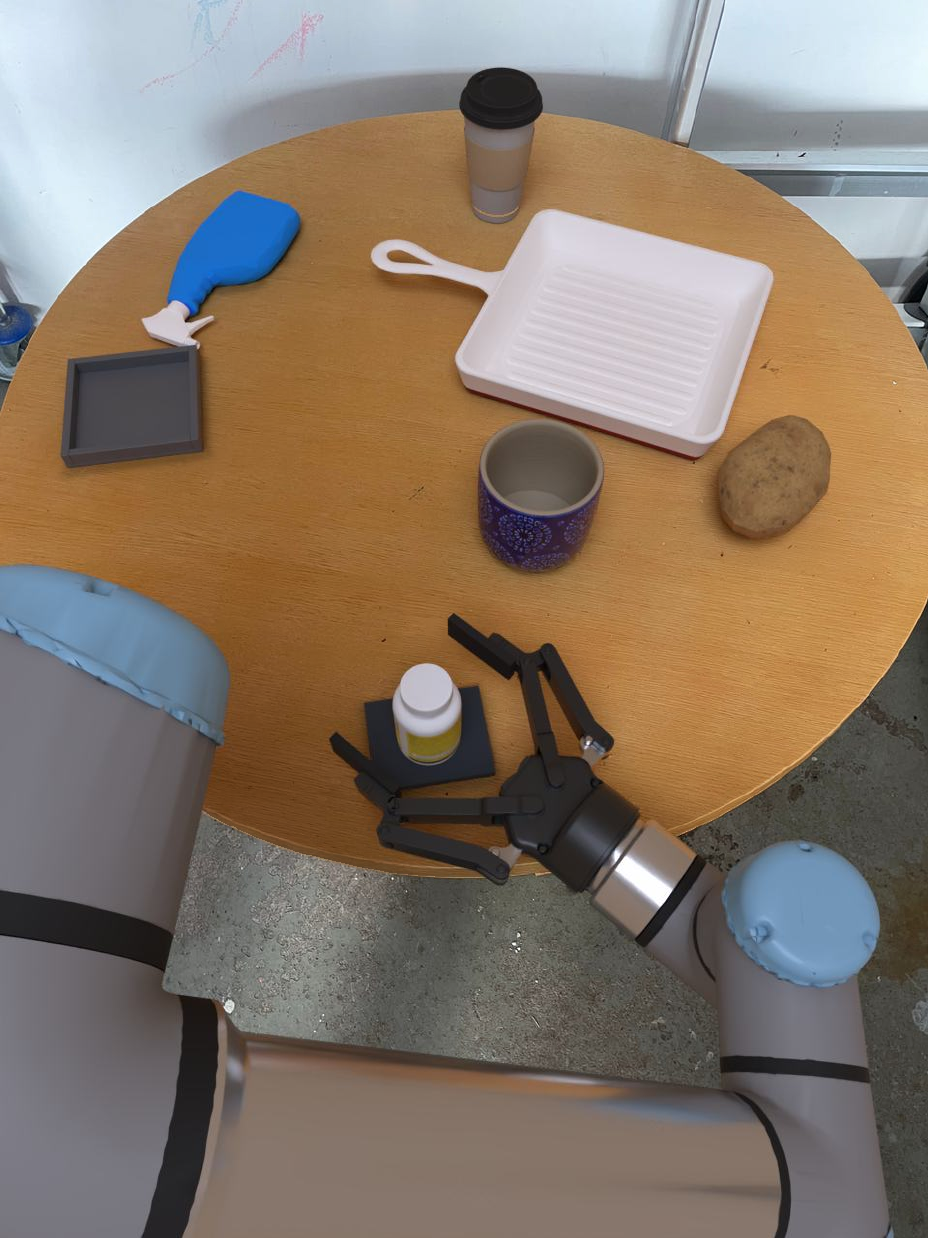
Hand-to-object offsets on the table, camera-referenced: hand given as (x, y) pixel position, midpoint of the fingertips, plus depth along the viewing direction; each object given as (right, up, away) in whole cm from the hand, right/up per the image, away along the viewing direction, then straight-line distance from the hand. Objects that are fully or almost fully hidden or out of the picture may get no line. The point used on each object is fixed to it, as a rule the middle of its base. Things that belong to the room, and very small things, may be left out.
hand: (394, 680), depth 68 cm
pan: (+15, +38, +30) cm, 51 cm away
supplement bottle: (+3, -5, +5) cm, 8 cm away
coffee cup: (+10, +56, +41) cm, 70 cm away
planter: (+12, +13, +16) cm, 24 cm away
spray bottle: (-23, +45, +34) cm, 61 cm away
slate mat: (+2, -6, +5) cm, 8 cm away
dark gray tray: (-29, +27, +23) cm, 46 cm away
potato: (+35, +16, +18) cm, 42 cm away
